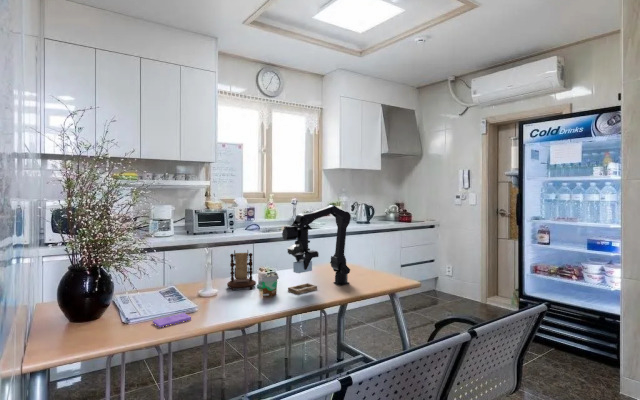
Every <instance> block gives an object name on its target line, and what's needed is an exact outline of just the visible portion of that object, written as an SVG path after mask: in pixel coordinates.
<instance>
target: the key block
mask: <svg viewBox="0 0 640 400" xmlns="http://www.w3.org/2000/svg"><path fill="white" fill-rule="evenodd" d="M292 262H293V261H292ZM292 264H293V269H292V270H293V273H296V274H301V273H302V274H303V273H307V272H312V271H313V260H311V261H310V263H309V265H308V267H307V269H306V270H304V260H303V259H302V260H300V261H298V262H297V261H294V262H293V263H292Z"/></svg>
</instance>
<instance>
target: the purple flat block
mask: <svg viewBox="0 0 640 400" xmlns="http://www.w3.org/2000/svg"><path fill="white" fill-rule="evenodd" d="M187 320H190V321H192V316H191V315H189V314H186V313H185V312H182V313H178V314H174V315H170V316H165V317H160V318H157V319H153V320H152V324H153V323H154V324H156V325H157V326H159V327H163V326H166V325H170V324H174V325H176V324H175V323H178V324H180V323H179V322H182V323H184V322H183V321H186V322H188V321H187ZM154 324H153V325H154ZM156 325H155V326H156ZM157 326H156V327H157ZM159 327H158V328H159ZM163 328H164V327H163Z"/></svg>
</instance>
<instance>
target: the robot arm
mask: <svg viewBox="0 0 640 400" xmlns="http://www.w3.org/2000/svg"><path fill="white" fill-rule="evenodd" d="M329 215H331V216H333V217H334V218H335V224H336V226H337V229H336V231H337V232H336V238H335V239H336V241H335V251H334V254H333V256H332V255H331V256H330V262H329V264H330V266H331V268H332V269H333V270H332V271H333V272H335V275H334V282H333V284H335V285H339V286H344V285H349V284H350V282H349V281H348V278H349V277H348V274H350V273H351V269H350V267H348V265H347V259H346V256H345V248H346V240H347V239H346V237H347V228H348V226H349V225H350V222H351V218H352V215H351V213H350V212H348V211H345V210H343V209H341V208H339V207H337V206H336V205H333V204H332V205H327V206H325V207H321V208H320V209H316V210H314V211H311V212H302V213H298V214H297V215H296V216H295V219H294V221H293V222H292V224H291V225H290V226H288V225H287V226H284V227H283V230H282V233H281V235H282V239H283V241H289V240H290V241H292V240H295V241H294V244H292V245H289V246H288V247H287V248H286V249H287V254H288V255H291V256H292V257H294V258H295V260H296V262H298V261H300V260H302V259H303V260H304V270H306V269H307V267H308V265H309V263H310V261H312V259H314V258H319V256H320V255H319V252H318V251H317V250H314V249H313V250H311V248H309V244H310V243H311V240H309V230H311V231H312V230H313V228H312V227H311V226H310V225H311V224H312V223H313V222H315V221H316V220H318V219H321V218H324V217H326V216H329Z"/></svg>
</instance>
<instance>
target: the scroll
mask: <svg viewBox="0 0 640 400" xmlns="http://www.w3.org/2000/svg"><path fill="white" fill-rule="evenodd" d="M253 255H254V254H253V253H252V252H249V249H247V252H236V250H235V249H234V251H233V253H231V254H230V281H228V282H227V283H226V284H227V287H228V288H230V290H231V291H232V292H233V291H234V289H236V290H237V289H238V290H240V289H243V290H244V289H249V290H252V289H253V287H255V286H256V284H257V282H256V281H255V280H254V279H253V259H252V258H253ZM234 266H235V267H234Z"/></svg>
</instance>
